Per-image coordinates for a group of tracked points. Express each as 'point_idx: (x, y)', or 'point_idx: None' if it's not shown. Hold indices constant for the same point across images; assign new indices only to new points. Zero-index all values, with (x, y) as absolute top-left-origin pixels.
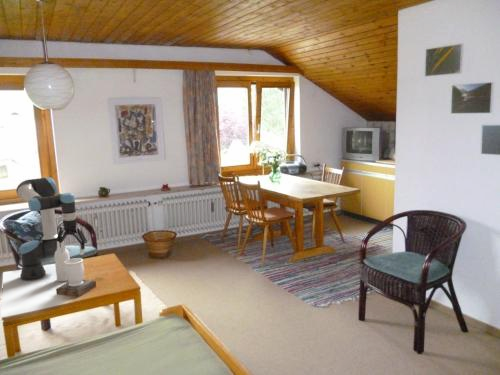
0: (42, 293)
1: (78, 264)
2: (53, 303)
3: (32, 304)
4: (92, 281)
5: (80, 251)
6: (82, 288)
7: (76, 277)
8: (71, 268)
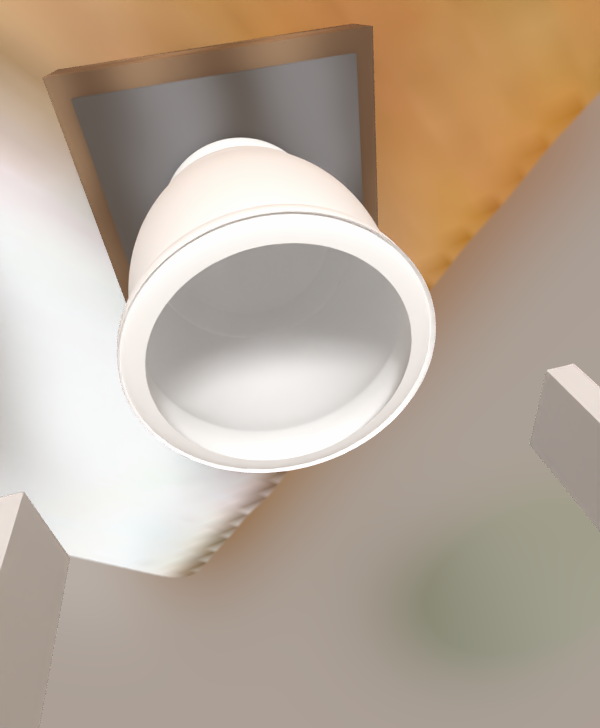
0: (12, 362)
1: (399, 351)
2: None
3: (153, 475)
4: (357, 71)
5: (594, 506)
6: None
7: (332, 302)
8: (326, 400)
